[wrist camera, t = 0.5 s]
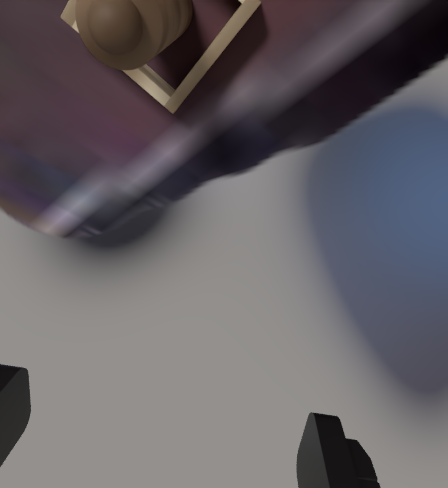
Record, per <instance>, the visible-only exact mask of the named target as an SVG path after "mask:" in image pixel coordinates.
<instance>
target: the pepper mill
mask: <svg viewBox="0 0 448 488" xmlns="http://www.w3.org/2000/svg"><path fill="white" fill-rule="evenodd" d="M192 14H193V5H192V0H76V6H75V17H76V24H77V28H78V31H79V34H80V36H81V39H82V41H83V42H84V44H85V46H86V47H87V49H88V50H89V51H90V52H91V54H92V55H93V56H94V57H95V58H96V59H98V60H99V61H100V62H102V63H103V64H105V65H107V66H109V67H111V68H114V69H117V70H134V69H137V68H140V67H142V66H143V65H145V64H146V63H148V62H149V61H150V60H151V59H153V58H154V57H155V56H156V55H158V54H159V53H160V52H161V51H163V50H164V49H165V48H166V47H167V46H169V45H170V44H171V43H172V42H174V41H175V40H176V39H177V38H179V37H180V36H181V35H182V34H183V33H184V32H185V31H186V30H187V28H188V27H189V25H190V23H191V19H192Z"/></svg>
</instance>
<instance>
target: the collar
mask: <svg viewBox="0 0 448 488" xmlns="http://www.w3.org/2000/svg"><path fill="white" fill-rule="evenodd" d="M239 1H240V2H241V3H242V4H241V5H240V7H239V8H238V9H237V11H236V12H235V13H234V14H233V16H232V17H231V18H230V20H229V21H228V22H227V24H226V25H225V26H224V27H223V29H222V30H221V31H220V33H219V34H218V35H217V37H216V38H215V39H214V41H213V42H212V43H211V44H210V46H209V47H208V48H207V50H206V51H205V52H204V54H203V55H202V56H201V58H200V59H199V60H198V61H197V63H196V64H195V65H194V67H193V68H192V69H191V71H190V72H189V73H188V74H187V76H186V77H185V78H184V80H183V81H182V82H181V84H180V85H179V86H178V88H177V89H176V90H175V89H174V88H172V87H171V86H170V85H169V84H168V83H167V82H166V81H165V80H163V79H162V78H161V77H160V76H159V75H158V74H157V73H156V72H154V71H153V70H152V69H151V68H150V67H149V66H148V65H147V64H145V65H143V66H142V67H140V68H137V69H134V70H122V71H124V72H125V73H126V74H127V75H128V76H129V77H131V78H132V79H133V80H134V81H135V82H136V83H137V84H139V85H140V86H141V87H142V88H143V89H144V90H146V91H147V92H148V93H149V94H150V95H151V96H153V97H154V98H155V99H156V100H157V101H158V102H160V103H161V104H162V105H163V106H164V107H165V108H167V109H168V110H169V111H170V112H171V113H172V114H173V113H174V112H175V111H176V110H177V108H178V107H179V106H180V105H181V103H182V102H183V101H184V99H185V98H186V97H187V96H188V94H189V93H190V92H191V91H192V89H193V88H194V87H195V86H196V84H197V83H198V82H199V81H200V79H201V78H202V77H203V76H204V74H205V73H206V72H207V70H208V69H209V68H210V67H211V65H212V64H213V63H214V62H215V60H216V59H217V58H218V57H219V55H220V54H221V53H222V52H223V50H224V49H225V48H226V47H227V45H228V44H229V43H230V41H231V40H232V39H233V38H234V36H235V35H236V34H237V33H238V31H239V30H240V29H241V28H242V26H243V25H244V24H245V23H246V21H247V20H248V19H249V17H250V16H251V15H252V14H253V12H254V11H255V10H256V9H257V7H258V6H259V5H260V4H261V1H260V0H239ZM75 6H76V0H69V1H68V3H67V5H66V7H65V9H64V11H63V13H62V15H61V18H62V19H63V20H64V21H65V22H67V23H68V24H69V25H70V26H71V27H72V28H74V29H75V30H76V31H77V32H78V33H79V31H78V28H77V24H76V17H75Z"/></svg>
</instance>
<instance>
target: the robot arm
mask: <svg viewBox="0 0 448 488" xmlns="http://www.w3.org/2000/svg"><path fill="white" fill-rule="evenodd" d="M30 412H31V405H30V389H29V376H28V370H27V369H26V368H22V367H15V366H8V365H1V364H0V467H1V465H2V464H3V462H4V461H5V459H6V458H7V456H8V455H9V453H10V451H11V450H12V449H13V447H14V446H15V444H16V443H17V441H18V440H19V438H20V437H21V435H22V434H23V432H24V430H25V428H26V426H27V424H28V421H29V417H30ZM297 479H298V487H299V488H380V485H379V483H378V482H377V476H376V473H375V470H374V467H373V464H372V461H371V459H370V457H369V456H368V455H367V453H366V452H365V450H364V449H363V448H362V446H361V445H360V444H359V442H358V441H357V440H352V439H346V438H345V435H344V432H343V428H342V425H341V422H340V419H339V418H338V417H337V416H332V415H325V414H319V413H310V414H309V416H308V419H307V422H306V426H305V430H304V433H303V436H302V439H301V443H300V446H299V450H298V454H297Z"/></svg>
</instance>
